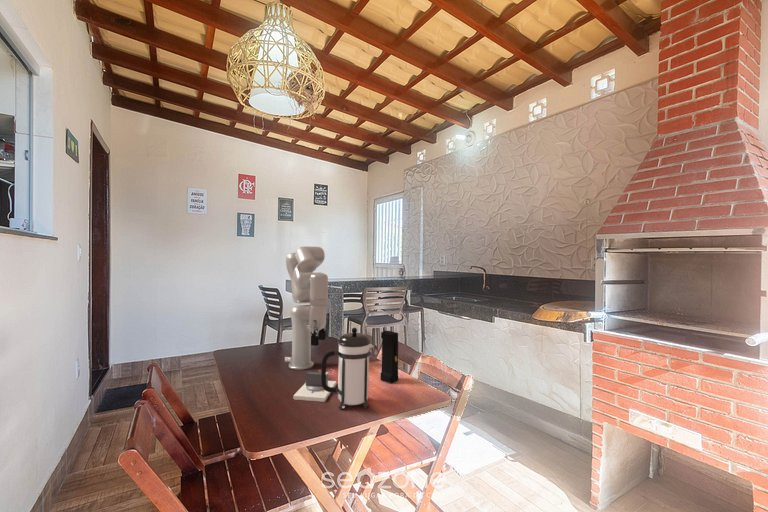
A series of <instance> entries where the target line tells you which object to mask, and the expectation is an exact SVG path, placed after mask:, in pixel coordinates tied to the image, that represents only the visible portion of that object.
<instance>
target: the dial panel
mask: <svg viewBox="0 0 768 512" xmlns="http://www.w3.org/2000/svg"><path fill="white" fill-rule="evenodd" d="M327 386H329V387H337V381H336V380H328V385H327ZM331 393H332V392H328V391H326V390H320V391H310V390H308V389H307V388H306V382H304V384H303V385H302V386H301V387H300V388H299V389H298V390H297V391H296V392H295V394H294V395H293V398H292V399H294V400H295V401H309V402H321V403H322V402H323V403H324V402H325V403H326V401H327V399H328V397H329V396H330V395H331Z"/></svg>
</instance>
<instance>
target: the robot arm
mask: <svg viewBox="0 0 768 512" xmlns="http://www.w3.org/2000/svg"><path fill="white" fill-rule="evenodd" d="M325 254H326V253H325V251H324V249H323V248H322V247H320V246H300V247H298V248H297V249H296V251H295V252H291V253H288V254H287V256H286V258H285V266H286V270H287V272H288V276H289V278H290V285H291V295H292V296H291V297H292V301H293V303H295V304H299V305H296V306H295V305H294V307H292V308H291V310H290V319H291V328H292V329H291V331H292V334H291V335H292V337H291V338H292V339H291V356H285V357H284V362H286V363H288V362H289V363H288V368H290V369H291V370H297V371H298V370H299V371H301V370H302V371H303V370H308V369H311V368H313V366H314V361H312V360H311V357H312V355H311V350H312V348H311V347H312V346H317V347H318V346H319V343H320V341H325V340H326V329H327V327H326V326H327V307H328V302H329V301H328V298H329V296H328V295H329V293H328V290H329V288H328V287H329V277H328V275H327V274H326V273H324V272H314V271H316V269H317V268H319V267H320V266H321V265H322V263H324V261H325V256H326V255H325Z"/></svg>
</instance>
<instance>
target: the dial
mask: <svg viewBox="0 0 768 512" xmlns="http://www.w3.org/2000/svg"><path fill="white" fill-rule="evenodd" d="M328 381H329V372H328V371H326V384H327V385H328ZM305 383H306V388H307V389H308V390H310V391H320V390H324V388H323V387H322V383H321V372H316V371H307V372H306V373H305Z"/></svg>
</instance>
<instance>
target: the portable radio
mask: <svg viewBox="0 0 768 512" xmlns="http://www.w3.org/2000/svg"><path fill="white" fill-rule="evenodd" d="M380 338H381V372H380V381H383V382H385V383H387V384H392V383H393V384H394V383H395V382H398V381H399V333H398V332H397V331H396V332H395V331H390V330H386V325H385V326H384V330H383V331H381V333H380Z"/></svg>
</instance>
